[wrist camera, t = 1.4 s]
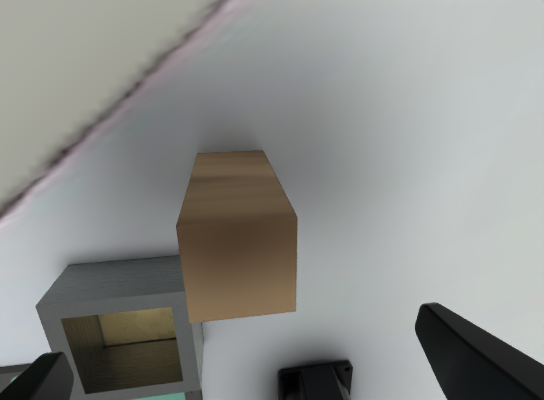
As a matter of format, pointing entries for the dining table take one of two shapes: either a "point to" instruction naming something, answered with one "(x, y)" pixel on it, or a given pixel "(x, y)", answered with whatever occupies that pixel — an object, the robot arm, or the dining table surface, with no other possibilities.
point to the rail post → (237, 239)
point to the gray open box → (124, 329)
